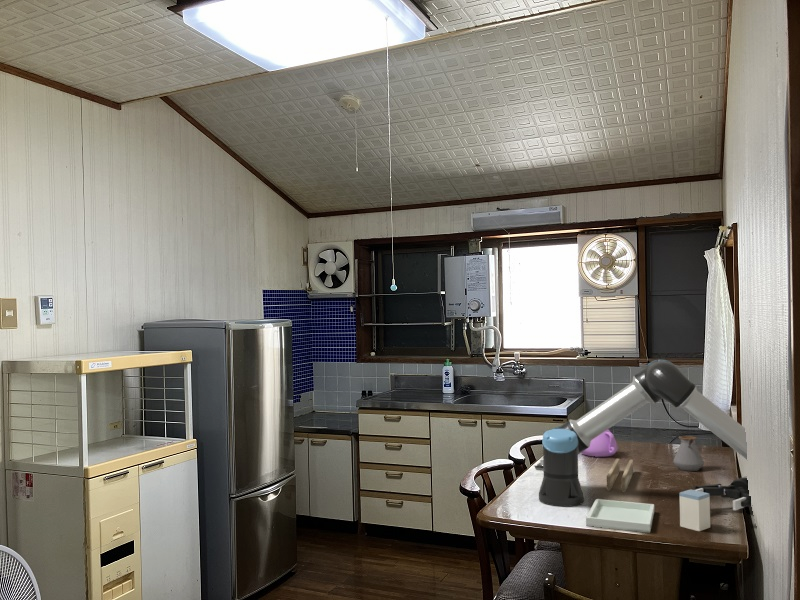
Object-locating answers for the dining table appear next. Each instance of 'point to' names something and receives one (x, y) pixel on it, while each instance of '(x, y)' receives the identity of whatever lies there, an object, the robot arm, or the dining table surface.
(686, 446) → the coffee pot
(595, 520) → the tray
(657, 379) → the robot arm
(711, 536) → the dining table surface
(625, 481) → the wooden napkin holder
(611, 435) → the teapot
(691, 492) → the white boxy piece
